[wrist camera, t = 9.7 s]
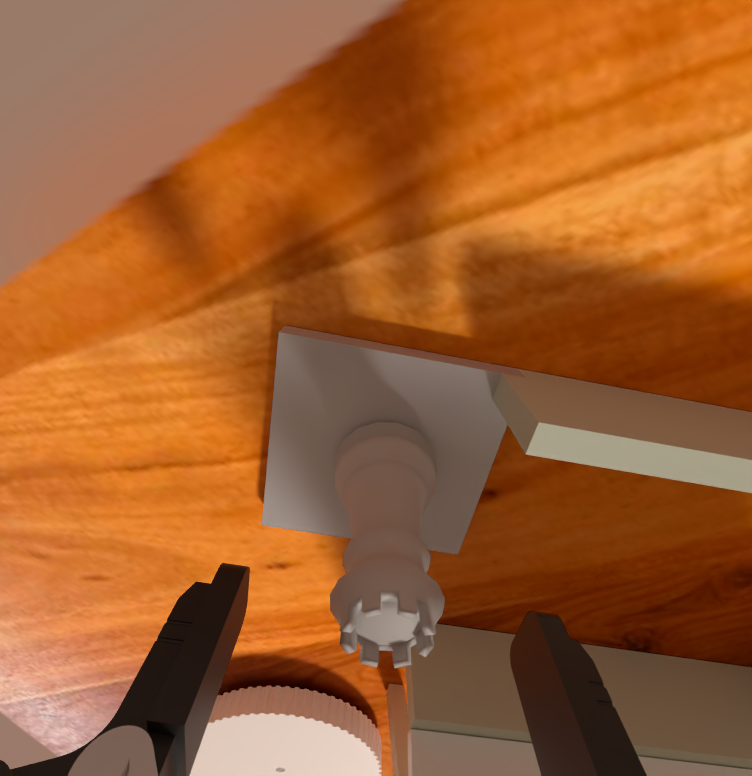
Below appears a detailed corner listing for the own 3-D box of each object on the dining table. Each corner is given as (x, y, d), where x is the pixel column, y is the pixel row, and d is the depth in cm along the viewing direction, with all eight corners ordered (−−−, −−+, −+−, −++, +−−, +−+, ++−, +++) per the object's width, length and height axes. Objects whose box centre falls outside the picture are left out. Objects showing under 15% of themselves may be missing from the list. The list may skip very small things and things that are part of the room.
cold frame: (983, 454, 18) (1967, 847, 7) (705, 729, 28) (921, 1073, 17) (493, 362, 17) (732, 679, 5) (383, 689, 27) (385, 1039, 15)
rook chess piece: (346, 504, 18) (322, 695, 11) (325, 423, 17) (282, 588, 9) (439, 493, 18) (478, 682, 11) (429, 409, 16) (468, 569, 9)
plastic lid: (281, 641, 25) (271, 685, 23) (419, 731, 29) (422, 776, 27) (156, 719, 29) (136, 763, 27) (293, 788, 33) (286, 831, 31)
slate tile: (517, 368, 16) (525, 377, 16) (454, 539, 21) (458, 554, 20) (284, 325, 16) (278, 332, 15) (267, 510, 20) (261, 525, 19)
